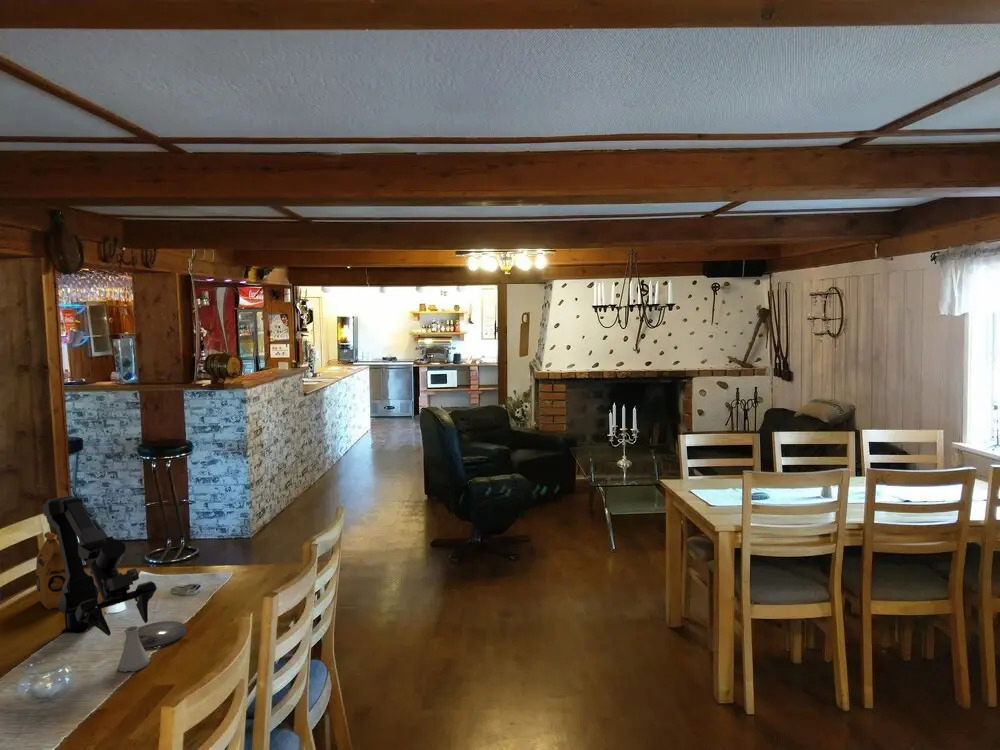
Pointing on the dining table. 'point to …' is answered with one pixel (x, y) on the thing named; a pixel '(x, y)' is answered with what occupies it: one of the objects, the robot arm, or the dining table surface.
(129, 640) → the flask
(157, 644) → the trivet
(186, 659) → the dining table surface
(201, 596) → the dining table surface
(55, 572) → the coffee package
